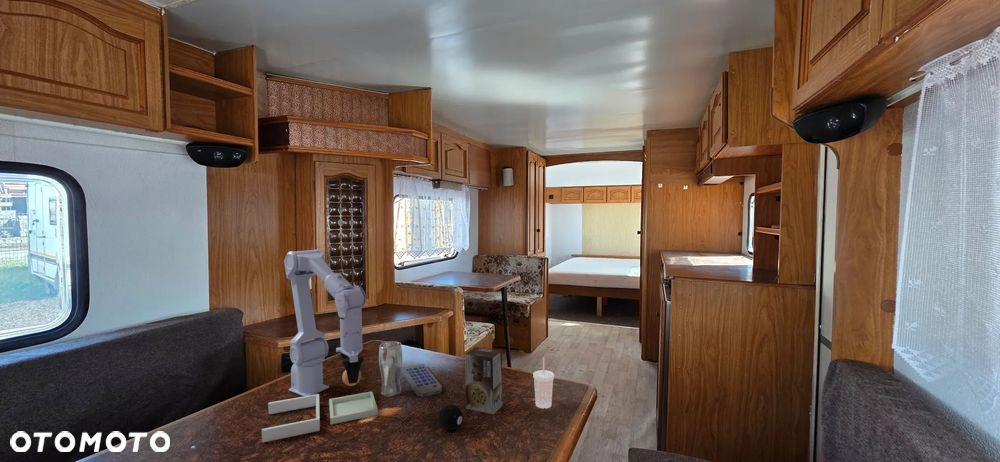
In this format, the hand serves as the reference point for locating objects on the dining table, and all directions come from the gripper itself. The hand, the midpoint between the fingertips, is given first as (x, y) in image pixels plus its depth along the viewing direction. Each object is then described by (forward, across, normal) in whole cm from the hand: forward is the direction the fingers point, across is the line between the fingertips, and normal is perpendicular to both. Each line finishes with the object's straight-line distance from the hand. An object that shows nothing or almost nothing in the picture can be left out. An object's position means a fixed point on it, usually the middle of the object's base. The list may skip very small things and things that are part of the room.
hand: (352, 379), depth 113 cm
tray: (+9, 0, 0) cm, 9 cm away
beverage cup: (+9, +20, +50) cm, 55 cm away
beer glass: (+9, -7, +12) cm, 16 cm away
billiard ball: (+9, +21, +22) cm, 32 cm away
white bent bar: (+9, 0, -15) cm, 17 cm away
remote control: (+10, -11, +22) cm, 27 cm away
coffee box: (+9, +14, +34) cm, 38 cm away
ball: (+2, 0, 0) cm, 2 cm away
